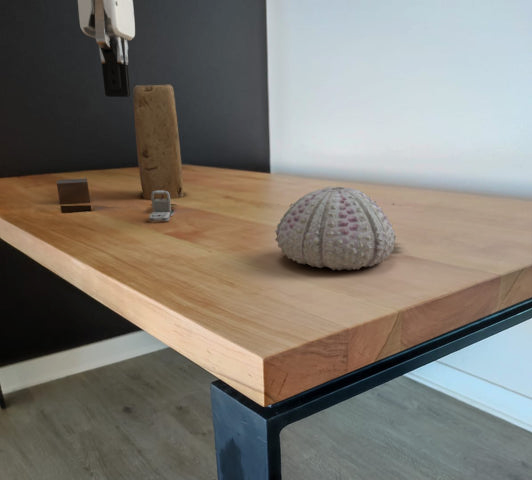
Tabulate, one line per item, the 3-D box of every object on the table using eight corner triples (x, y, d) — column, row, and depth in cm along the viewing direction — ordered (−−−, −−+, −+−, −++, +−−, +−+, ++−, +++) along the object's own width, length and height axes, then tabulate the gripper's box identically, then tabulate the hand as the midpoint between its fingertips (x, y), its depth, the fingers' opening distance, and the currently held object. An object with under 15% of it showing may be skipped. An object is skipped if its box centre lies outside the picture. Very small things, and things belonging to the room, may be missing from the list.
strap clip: (167, 222, 84) (165, 194, 83) (148, 222, 84) (145, 194, 83) (175, 212, 92) (173, 186, 90) (157, 213, 92) (155, 187, 90)
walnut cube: (61, 213, 94) (56, 183, 91) (62, 208, 98) (57, 179, 96) (91, 211, 95) (87, 181, 93) (91, 206, 99) (86, 178, 97)
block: (185, 206, 98) (176, 82, 90) (143, 208, 97) (129, 83, 88) (180, 197, 108) (171, 85, 99) (142, 199, 106) (129, 85, 98)
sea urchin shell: (330, 241, 70) (332, 177, 67) (419, 260, 61) (427, 186, 58) (252, 260, 63) (250, 188, 59) (340, 285, 53) (344, 201, 50)
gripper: (92, -50, 75) (108, 97, 83) (48, -84, 62) (72, 95, 69) (145, -50, 75) (156, 97, 83) (114, -84, 61) (130, 96, 69)
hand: (118, 96), depth 76 cm, fingers closed
